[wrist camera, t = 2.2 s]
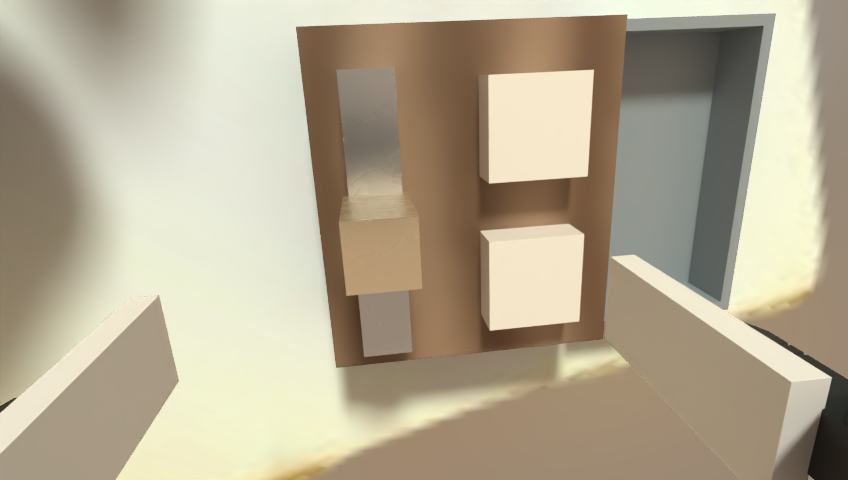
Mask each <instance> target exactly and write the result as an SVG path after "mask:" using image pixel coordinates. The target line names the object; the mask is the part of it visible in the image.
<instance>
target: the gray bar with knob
mask: <svg viewBox="0 0 848 480" xmlns="http://www.w3.org/2000/svg"><path fill="white" fill-rule="evenodd" d="M336 71H337V81H338V92H339V102H340V112H341V123H342V133H343V143H344V154H345V164H346V174H347V185H348V195H349V196H343V200H342V206H341V212H340V218H339V229H340V239H341V248H342V258H343V267H344V277H345V286H346V296H351V295H358V298H359V308H360V319H361V329H362V339H363V350H364V357H370V356H379V355H389V354H398V353H408V352H412V337H411V321H410V305H409V290H416V289H422V273H421V254H420V235H419V216H418V214H417V212H416V209H415V207H414V205H413V202H412V200H411V198H410V195H409V193H408V192H403V191H402V175H401V158H400V142H399V126H398V110H397V93H396V77H395V67H385V68H363V69H341V70H336Z"/></svg>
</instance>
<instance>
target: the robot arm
mask: <svg viewBox="0 0 848 480" xmlns="http://www.w3.org/2000/svg"><path fill="white" fill-rule="evenodd" d="M604 338H605V339H606V340H607V341H608V342H609V343H610V344H611V345H612V346H613V347H614V348H615V349H616V350H617V351H618V352H619V354H620V355H621V356H622V357H623V358H624V359H625V360H626V361H627V362H628V363H629V364H630V365H631V366H632V367H633V368H634V369H635V370H636V371H637V372H638V373H639V375H640V376H641V377H642V378H643V379H644V380H645V381H646V382H647V383H648V384H649V385H650V386H651V387H652V388H653V389H654V390H655V391H656V392H657V393H658V394H659V396H660V397H661V398H662V399H663V400H664V401H665V402H666V403H667V404H668V405H669V406H670V407H671V408H672V409H673V410H674V411H675V412H676V413H677V414H678V415H679V417H680V418H682V420H683V421H684V422H685V423H686V424H687V425H688V426H689V427H690V428H691V429H692V430H693V431H694V432H695V433H696V434H697V435H698V436H699V437H700V439H701V440H702V441H703V442H704V443H705V444H706V445H707V446H708V447H709V448H710V449H711V450H712V451H713V452H714V453H715V454H716V455H717V456H718V457H719V459H720V460H721V461H722V462H723V463H724V464H725V465H726V466H727V467H728V468H729V469H730V470H731V471H732V472H733V473H734V474H735V475H736V476H737V477H738V478H739V480H808V476H809V475H810V476H811V477H812V478H813V479H814V480H848V379H846V378H844V377H843V376H841V375H840V374H838V373H836V372H835V371H833V370H831V369H830V368H828V367H827V366H825V365H823V364H821V363H820V362H818V361H817V360H815V359H813V358H812V357H810V356H808V355H804V354H803V352H802V351H800V350H798V349H797V348H795V347H793V346H792V345H790V346H788V344H787V342H785V341H784V340H782V339H780V338H779V337H777V336H775V335H774V334H772V333H770V332H769V331H766V330H763V329H761V328H758V327H756V326H753V325H750V324H748V323H745V322H742V321H740V320H739V319H737V318H735V317H734V316H732V315H731V314H729V313H727V312H726V311H724V310H723V309H721V308H719V307H718V306H716V305H715V304H713V303H711V302H710V301H708V300H706V299H705V298H703V297H702V296H700V295H698V294H697V293H695V292H694V291H692V290H690V289H689V288H687V287H686V286H684V285H682V284H681V283H679V282H678V281H676V280H674V279H673V278H671V277H670V276H668V275H666V274H665V273H663V272H661V271H660V270H658V269H657V268H655V267H653V266H652V265H650V264H649V263H647V262H645V261H644V260H642V259H641V258H639V257H637V256H636V255H624V256H612V257H610V267H609V281H608V295H607V309H606V322H605V336H604ZM178 381H179V380H178V376H177V371H176V367H175V363H174V358H173V354H172V350H171V345H170V341H169V337H168V332H167V328H166V324H165V319H164V315H163V311H162V307H161V302H160V298H159V295H158V296H146V297H135V298H129V299H128V300H127V301H126V302H125V303H124V304H123V305H121V306H120V307H119V308H118V309H117V310H116V311H115V312H114V313H112V314H111V315H110V316H109V317H108V318H107V319H106V320H105V321H103V322H102V323H101V324H100V325H99V326H98V327H97V328H96V329H94V330H93V331H92V332H91V333H90V334H89V335H88V336H87V337H85V338H84V339H83V340H82V341H81V342H80V343H79V344H78V345H76V346H75V347H74V348H73V349H72V350H71V351H70V352H69V353H67V354H66V355H65V356H64V357H63V358H62V359H61V360H59V361H58V362H57V363H56V364H55V365H54V366H53V367H52V368H50V369H49V370H48V371H47V372H46V373H45V374H44V375H43V376H41V377H40V378H39V379H38V380H37V381H36V382H35V383H34V384H32V385H31V386H30V387H29V388H28V389H27V390H26V391H25V392H23V393H22V394H21V395H20V396H19V397H18V398H13V399H12V400H10V401H8V402H7V403H5V404H3V405H1V406H0V480H116V478H117V477H118V475H119V473H120V472H121V470H122V469H123V467H124V466H125V464H126V462H127V461H128V459H129V458H130V456H131V455H132V453H133V452H134V450H135V448H136V447H137V445H138V444H139V442H140V441H141V439H142V438H143V436H144V434H145V433H146V431H147V430H148V428H149V427H150V425H151V423H152V422H153V420H154V419H155V417H156V416H157V414H158V413H159V411H160V409H161V408H162V406H163V405H164V403H165V402H166V400H167V399H168V397H169V395H170V394H171V392H172V391H173V389H174V388H175V386H176V385H177V383H178Z"/></svg>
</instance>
